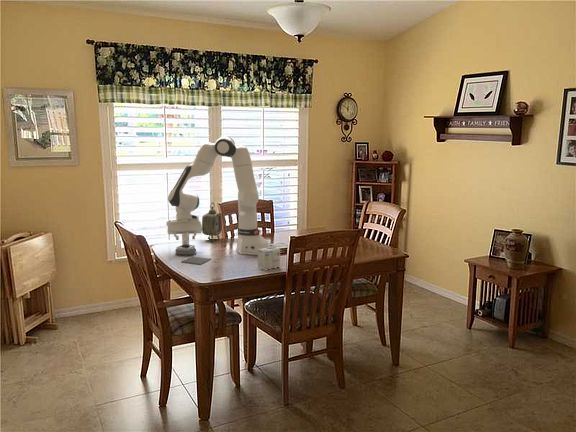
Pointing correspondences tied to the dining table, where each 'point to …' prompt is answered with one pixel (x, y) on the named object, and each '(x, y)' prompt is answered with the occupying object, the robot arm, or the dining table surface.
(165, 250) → the dining table surface
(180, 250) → the chuck block
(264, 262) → the light bulb box
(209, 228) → the tabletop clock
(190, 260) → the mat
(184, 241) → the key rod
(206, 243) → the dining table surface
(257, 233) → the robot arm
